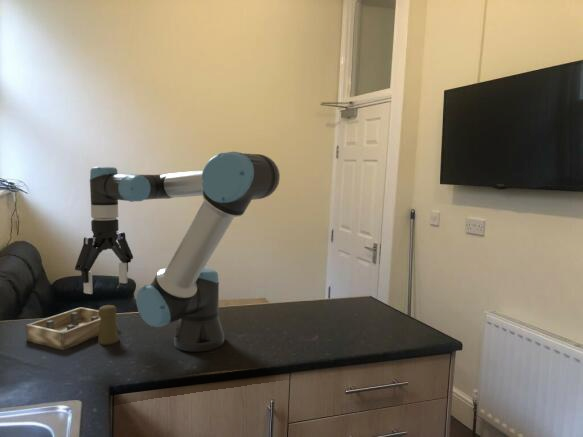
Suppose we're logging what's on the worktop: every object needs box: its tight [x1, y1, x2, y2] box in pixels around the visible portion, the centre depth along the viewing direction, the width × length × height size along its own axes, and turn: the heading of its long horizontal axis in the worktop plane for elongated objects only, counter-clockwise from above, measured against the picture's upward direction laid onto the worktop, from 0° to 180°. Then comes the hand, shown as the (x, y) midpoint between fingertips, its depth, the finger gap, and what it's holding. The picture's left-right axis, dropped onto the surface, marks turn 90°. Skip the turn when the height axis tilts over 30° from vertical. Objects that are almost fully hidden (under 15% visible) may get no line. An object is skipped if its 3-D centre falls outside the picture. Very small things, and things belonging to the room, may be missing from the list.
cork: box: [97, 304, 120, 345], centre depth 136 cm, size 6×6×11 cm
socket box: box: [25, 306, 117, 351], centre depth 141 cm, size 16×20×5 cm
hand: (106, 287), depth 135 cm, fingers open, 13 cm apart
